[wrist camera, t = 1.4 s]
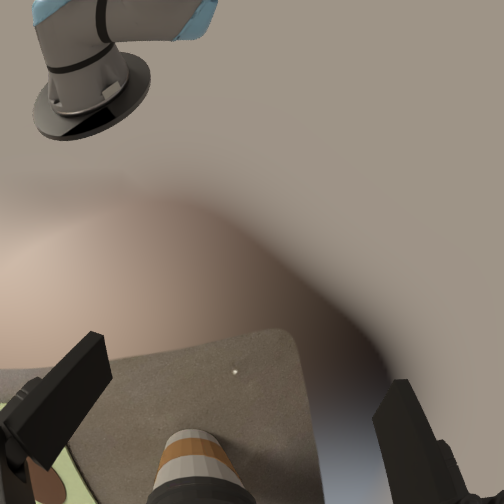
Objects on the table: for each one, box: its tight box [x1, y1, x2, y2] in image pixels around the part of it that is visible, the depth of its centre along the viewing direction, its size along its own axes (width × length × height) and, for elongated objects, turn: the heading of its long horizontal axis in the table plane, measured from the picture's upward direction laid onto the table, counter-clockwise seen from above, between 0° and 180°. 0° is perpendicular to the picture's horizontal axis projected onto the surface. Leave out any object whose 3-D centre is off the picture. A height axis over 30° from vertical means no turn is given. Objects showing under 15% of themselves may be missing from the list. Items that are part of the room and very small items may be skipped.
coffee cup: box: [146, 429, 256, 504], centre depth 17 cm, size 8×8×15 cm
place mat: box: [0, 403, 98, 504], centre depth 16 cm, size 24×20×1 cm
